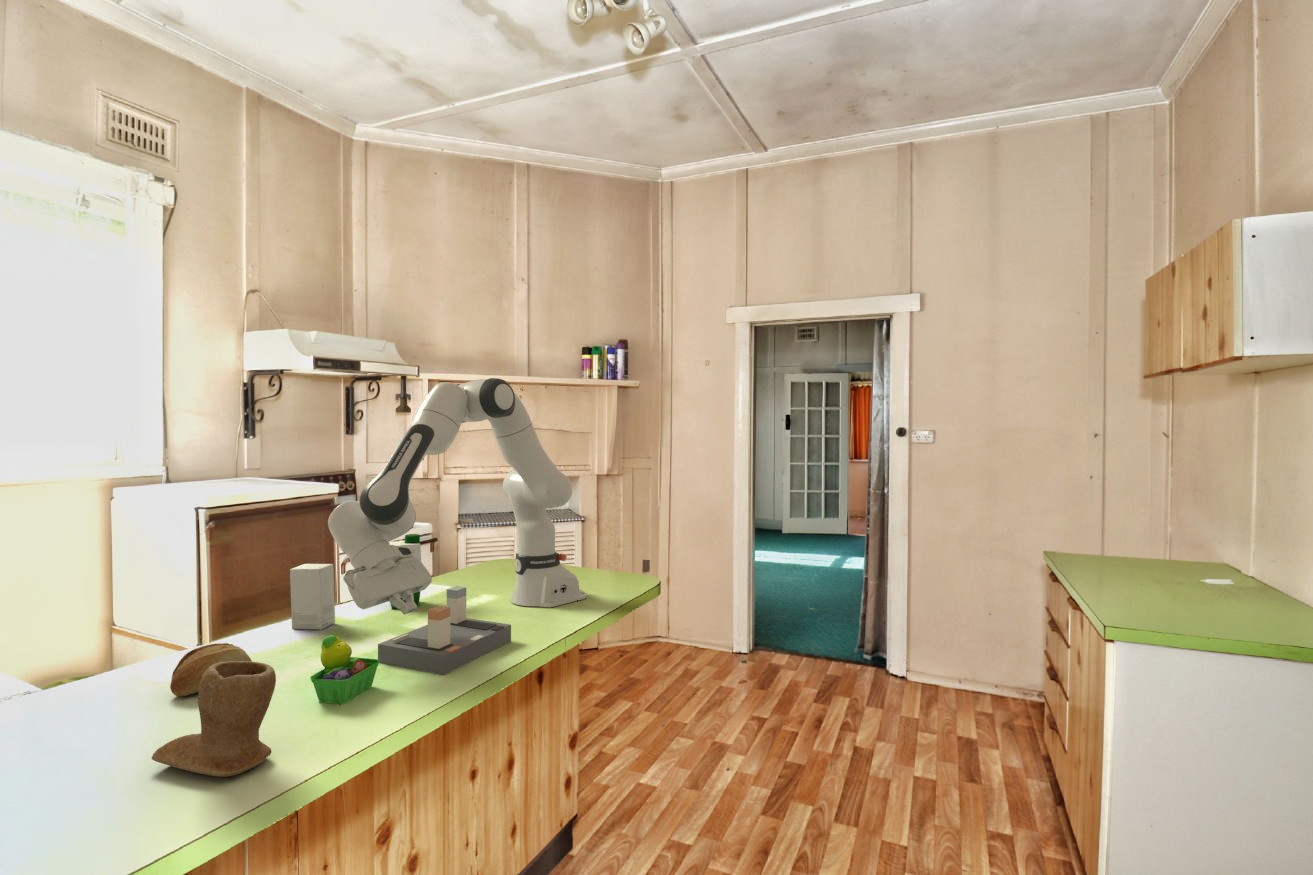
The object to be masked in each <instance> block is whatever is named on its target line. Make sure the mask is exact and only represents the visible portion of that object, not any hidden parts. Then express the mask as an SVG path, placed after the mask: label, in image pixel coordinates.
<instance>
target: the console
mask: <svg viewBox="0 0 1313 875" xmlns="http://www.w3.org/2000/svg"><path fill="white" fill-rule="evenodd" d="M510 642H512V624H511V623H510V624H509V623H502V622H496V621H490V620H482V619H476V618H469V617H466V620H465V621H462V622H460V623H457V624H454V623H450V644H449V645H447V646H444V647H442V648H440V649H436V648H431V647H428V624H426V625H423V626H420V627H418V628H415V629H412V630H409V631H408V632H405V633H402V634H400V635H398V636H395V637H393V638H390V639H387V640H385V641H382V642H380V643H377V659H378V660H380V663H381V664H385V665H389V666H397V667H400V668H406V669H410V670H416V671H417V670H418V671H423V672H427V673H433V674H437V675H444V676H445V675H447V674H449V673H451V672H452V671H453V672H454V671H455V670H457V669H459V668H461V667H462V666H465V665H466V664H468V663H471V662H473V661H475V660H476V659H478V658H481V657H482V656H484V654H485V655H486V654H488V653H491V652H492V651H494V650H496V649H498V648H500V647H502V646H504V645H506V644H508V643H510ZM480 656H481V657H480ZM380 663H379V664H380Z"/></svg>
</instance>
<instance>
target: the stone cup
mask: <svg viewBox="0 0 1313 875" xmlns="http://www.w3.org/2000/svg"><path fill="white" fill-rule="evenodd" d="M276 681H277V676H276V672H275V669H274V667H272V666H271V665H270V664H268V663H264V662H259V661H252V662H251V661H226V662H219V663H216V664H213V665H212V666H210V667H209V668H208V669H207V670H206V671H205V672H204V674H203V676H202V678H201V681H200V686H199V692H198V699H197V700H198V701H197V703H198V705H197V707H198V711H199V718H200V730H201V731H200V733H192V734H187V735H182V736H179V737H177V738H175V739H172V740H170V741H169V742H166V743H165V744H164V745H162V746H160V747H159V748H157V749H156V750H155V751H154V752H153V754H152V756H151V760H153V761H155V762H157V763H160V764H163V765H166V766H169V767H173V768H177V769H180V770H183V771H187V772H192V773H195V774H201V775H205V776H211V777H220V778H222V777H231V776H235V775H239V774H242V773H244V772H247V771H249V770H251V769H253V768H255V767H257V766H258V765H260V764H261V763H263V762H265V761H266V760H267V758H268V757H270V755H271V754H272V752H273V751H272V749H271V747H269V746H268V745H267V744H265V743H263V742H262V741H261V740H260V728H261V726H262V723H263V720H264V718H265V716H266V714H267V712H268V709H269V707H270V704H271V702H272V698H273V695H274V692H275V688H276V683H277V682H276Z"/></svg>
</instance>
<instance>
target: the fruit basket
mask: <svg viewBox="0 0 1313 875" xmlns="http://www.w3.org/2000/svg"><path fill="white" fill-rule="evenodd" d="M320 645H321V646H320V647H321V652H320V662H321V665H322V666H323V669H321V670H320V671H318V672H316V673H314V674H313V675H311V676H310V681H311V683H312V684H313V687H314V690H315V694H316V697H317V699H318V702H319V703H327V704H332V705H333V704H339V705H344V704H346V703H347V702H348V701H350V700H352V699H354V698H355V697H357V696H358V695H361V694H362V693H364V692H365V690H368V689H370V688H371V687H372V686H373V683H374V679H375V675H376V672H377V669H378V667H379V665H380V663H379V662H380V660H378V658H377V659H376V658H368V657H367V658H365V657H356V656H355V657H354V656H352V653H353V650H352V647H351V646H350V645H349V644H348V643H346V641H344V640H342V639H341V638H340V637H338V636H336V635H334V634H330V635H326V636H325V637H324V638H323V639H322V641H321V644H320Z"/></svg>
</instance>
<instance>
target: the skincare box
mask: <svg viewBox="0 0 1313 875" xmlns="http://www.w3.org/2000/svg"><path fill="white" fill-rule="evenodd" d="M289 578H290V580H289V581H290V602H291V603H290V606H291V607H290V610H291V629H292V630H318V631H319V630H324V629H326V628H327V627H329V626H331V625H334V624H335V623H336V608H335V604H336V602H335V576H334V563H304V564H301V565H298V566H295V567H293V568H290V569H289Z"/></svg>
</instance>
